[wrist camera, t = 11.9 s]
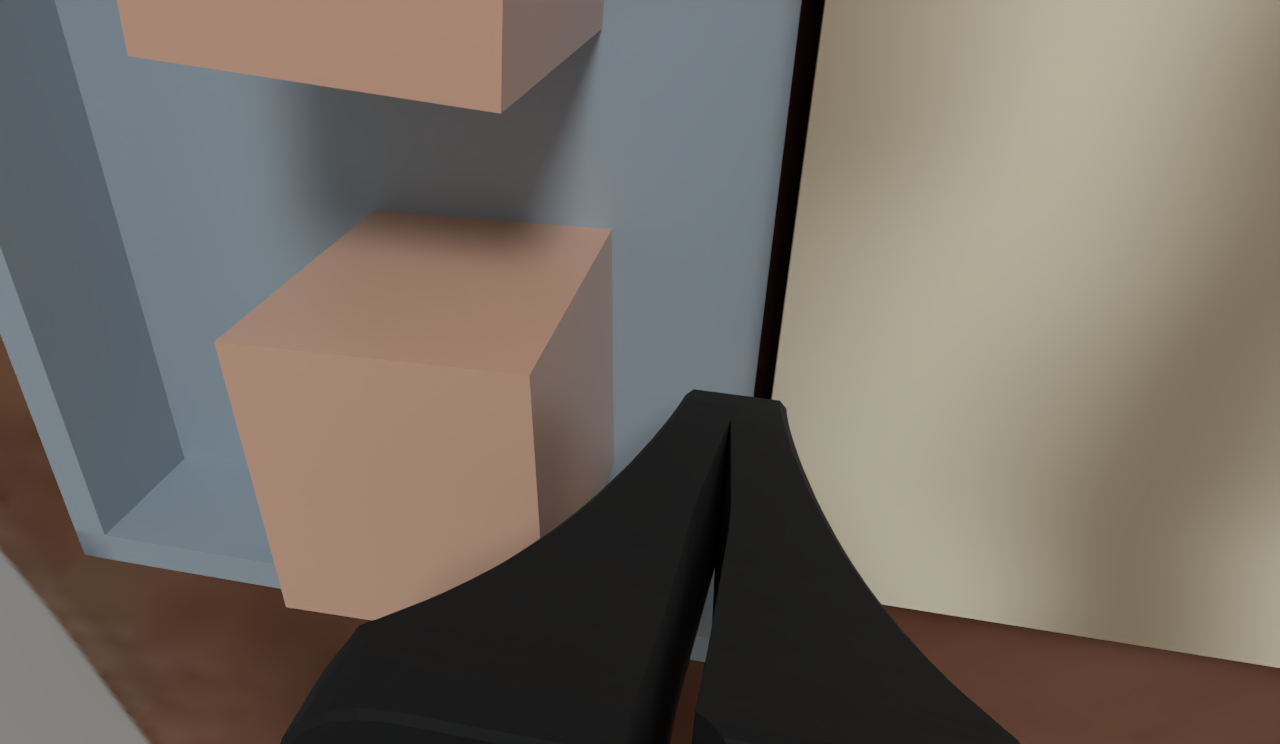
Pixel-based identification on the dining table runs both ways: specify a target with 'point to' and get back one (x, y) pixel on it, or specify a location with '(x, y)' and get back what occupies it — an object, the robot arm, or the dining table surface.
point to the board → (1046, 313)
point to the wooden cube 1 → (371, 43)
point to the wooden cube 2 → (424, 404)
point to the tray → (331, 206)
